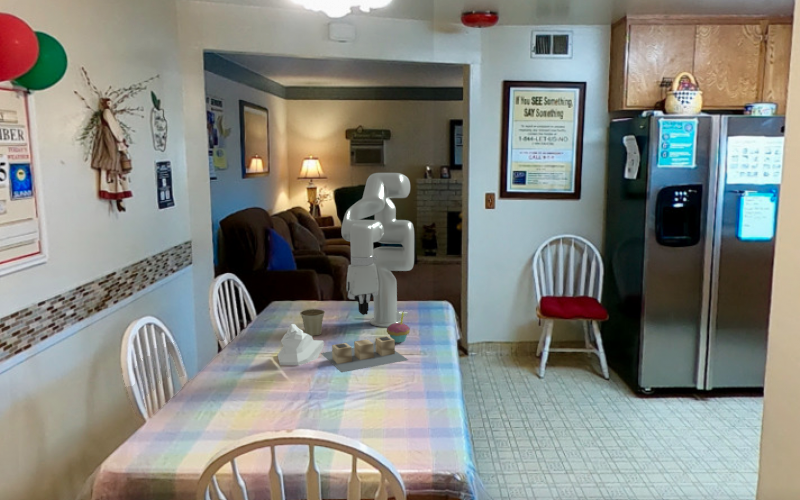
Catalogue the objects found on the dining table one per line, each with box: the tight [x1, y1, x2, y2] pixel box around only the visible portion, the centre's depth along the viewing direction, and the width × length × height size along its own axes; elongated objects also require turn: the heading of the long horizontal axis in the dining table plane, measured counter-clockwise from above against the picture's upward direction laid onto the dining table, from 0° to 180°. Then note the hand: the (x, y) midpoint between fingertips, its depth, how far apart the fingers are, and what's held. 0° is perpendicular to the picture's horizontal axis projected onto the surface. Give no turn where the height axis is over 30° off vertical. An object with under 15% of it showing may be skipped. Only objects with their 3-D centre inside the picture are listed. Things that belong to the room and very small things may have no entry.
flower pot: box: [300, 308, 326, 337], centre depth 226 cm, size 9×9×9 cm
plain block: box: [353, 338, 374, 360], centre depth 199 cm, size 5×5×5 cm
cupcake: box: [386, 310, 411, 343], centre depth 215 cm, size 9×8×12 cm
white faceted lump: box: [277, 323, 325, 366], centre depth 196 cm, size 12×15×14 cm
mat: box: [320, 343, 409, 373], centre depth 200 cm, size 24×20×1 cm
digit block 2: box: [375, 335, 396, 356], centre depth 203 cm, size 5×5×5 cm
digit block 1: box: [331, 342, 352, 364], centre depth 196 cm, size 5×5×5 cm
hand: (363, 313), depth 198 cm, fingers closed
